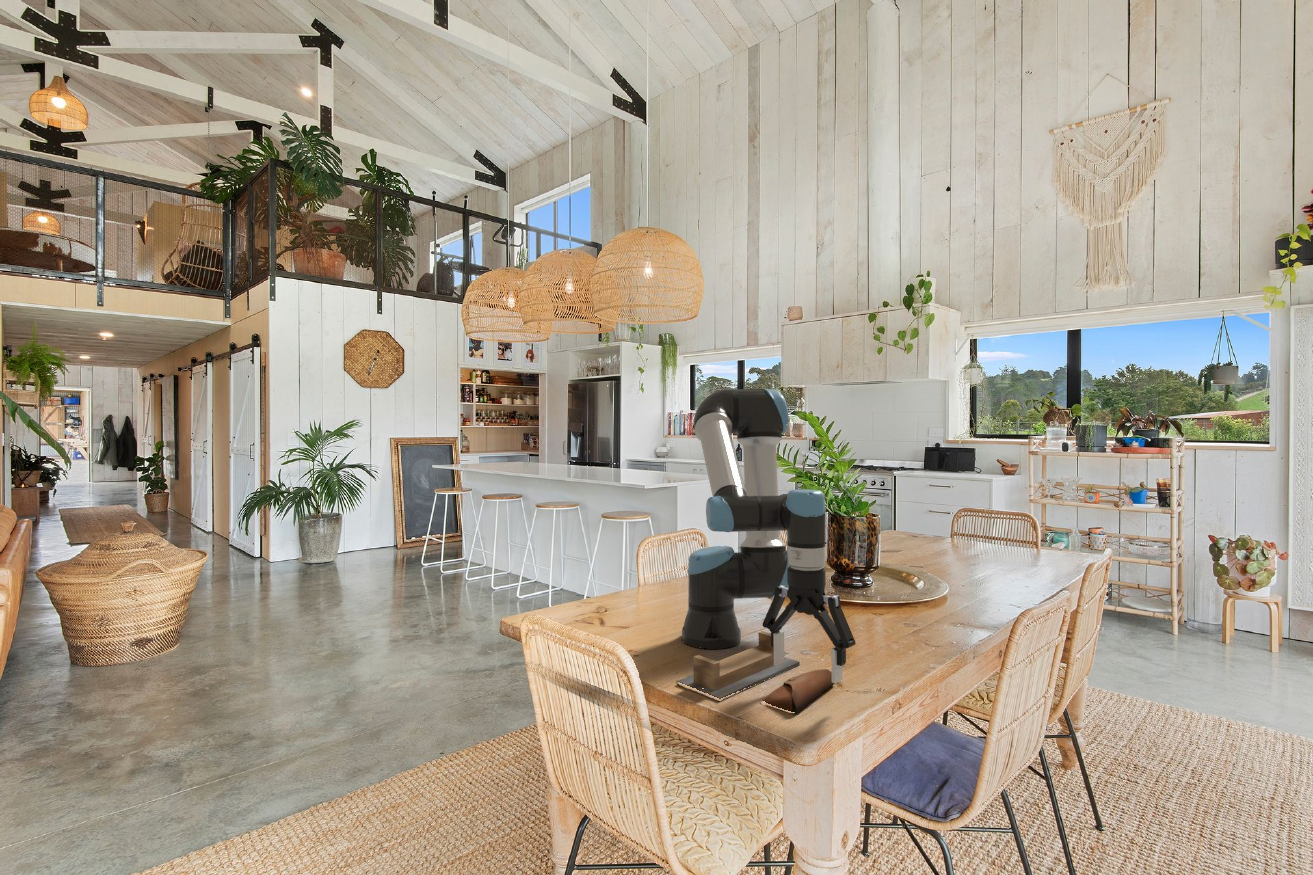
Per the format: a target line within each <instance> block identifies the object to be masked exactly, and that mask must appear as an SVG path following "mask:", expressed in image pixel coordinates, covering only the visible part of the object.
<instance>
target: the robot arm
mask: <svg viewBox="0 0 1313 875" xmlns="http://www.w3.org/2000/svg"><path fill="white" fill-rule="evenodd" d="M789 418H790V417H789V409H788V406H787V402H786V399H785V397H784V395H783V393H782V392H781V391H779V390H778V389H769V388H741V389H740V388H735V389H734V388H732V389H731V388H724V389H718V390H716V391H714V392H712V393H710V394H708V396H706V397H705V398H704V399H703V400H702V401H701V402H700V403H699V406H698V407H697V409H696V411H695V413H694V417H693V430H694V435H695V436H696V438H697V439H698V441H700V445H701V449H702V454H703V458H704V463H705V467H706V472H707V476H708V480H709V486H710V492H711V494H712V495H711V496H710V497H708V499H707V500H706V505H705V516H706V525H707V527H708V529H709V530H710V531H712V532H722V533H723V532H724V533H731V532H736V533H738V532H745V539H744V540H743V542H741V543H740V552H737V551H736V552H735V550H734V548H733V547H732V546H728V545H723V546H721V545H715V546H708V547H703V548H700V549H697V550H695V551H693V552H692V553H691V554H690V555H689V557H688V565H687V566H688V567H687V574H688V575H687V576H688V577H687V578H688V579H687V580H688V582H687V584H688V592H687V593H688V594H687V596H688V597H687V598H688V604H687V605H688V607H687V608H688V609H687V612H686V617H685V620H684V623H683V626H682V628H681V641H682V642H683V641H684V642H683V643H684V644H686V643H687V644H688V645H687V644H686V645H687V646H690V645H692V646H691V647H694V648H697V647H701V648H700V649H704V648H706V650H722V649H728V647H729V648H732V647H735V646H737V645H739V644H740V643H741V641H742V631H741V628H740V627H739V622H738V620H737V616H736V612H735V606H734V605H735V604H734V602H735V600H736V599H738V600H739V599H742V600H743V599H763V598H764V599H772V601H771V603H770V606H769V608H768V610H767V612H766V614H765V617H764V619H763V620H762V627H763V628H765V629H768V630H769V633H771V646H772V647H774V665H776V666H777V665H780V664H782V663H784V657H785V631H783V630H782V629H783V627H784V626H785V625H786V624H787V623H788V621H789V620H790V619H791V618H792V616H793V615H794V614H795V613H796V612H797V613H799V614H805V615H808V616H813V618H814V619H816V620H817V622H818V623H819V624H820V626H821V628H822V629H823V630H824V632H825V634H826V635H827V636H828V638H829V640H830V642H831V643H832V644H833V646H834V647H831V654H830V656H831V672H832V682H833V683H834V684H837V683H838V682H840V681H842V680H843V666H844V665H846V663H847V649H849V648H852V647H853V646H856V644H857V643H856V640H855V637H854V635H853V633H852V631H851V627H850V625H849V622H848V621H847V618H846V616H845V614H844V611H843V609H842V605H841V597H840V595H838V594H835V595H826V591H825V590H826V584H827V583H826V582H827V580H826V578H827V577H826V573H827V572H826V569H825V568H824V567H825V566H826V511H827V510H826V509H827V507H826V501H825V500H826V499H825V494H824V492H823V491H822V490H818V489H809V488H806V489H805V488H804V489H801V488H798V489H790V490H789V491H788V492H787V493H782V494H779V490H778V489H779V486H778V462H777V461H778V460H777V459H778V457H777V455H778V454H777V446H778V444H779V443H780V442H781V441H783V440H782V439H783V434H785V433H787V432H788V429H789V422H790V421H789V420H790V419H789ZM731 434H736V440H737V443H739V444H740V445H741V447H742V448H743V449H742V450H743V475H742V471H741V468H740V465H739V461H738V457H737V454H736V450H735V445H734V441H733V438H732V435H731ZM780 531H785V532H786V540H787V541H786V542H787V543H785V542H784V541H783V540H782V539H781V537H780ZM786 544H787V545H786ZM786 547H787V548H786ZM787 597H788V599H789V603H788V604H787V605H786V606H785V609H784V610H783V611H782V612H781V613H780V611H781V609H782V606H783V604H784V603H785V601H786V598H787ZM825 604H826V606H825ZM827 607H828V609H827ZM779 614H780V615H779ZM830 615H831V616H830Z"/></svg>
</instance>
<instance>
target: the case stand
mask: <svg viewBox="0 0 1313 875" xmlns="http://www.w3.org/2000/svg"><path fill="white" fill-rule="evenodd" d="M692 659H693V660H692V661H693V666H692V670H693V674H692V675H689V676H686V677H684V678H681V679H679V680H676V683H677V682H680V683H682V684H685V685H687V686H690V687H692V688H696V689H697V690H699V691H702V692H704V693H708V694H709V695H712V696H714V697H717V698H719V699H721V698H723V697H726V696H728V695H731V694H732V693H736V692H737V691H741V690H743V689H744V688H748V687H750V686H753V685H755V684H758V683H760V682H762V683H764V682H765V681H764V680H766V681H768V679H769V678H771V679H773V678H775V677H777V676H779V675H781V674H780V673H782V674H783V672H784V673H785V671H786V672H787V671H790V670H792V669H794V668H796V667H798V666H800V663H801V662H800V661H799V660H795V659H792V658H788V657H786V656H784V663H782V664H780V665H777V666H776V665H774V647H772V646H771V632H767V631H763V630H762V631H759V632H758V645H755V646H753V647H750V648H748V649H745V650H743V651H740V652H738V653H736V654H733V655H729V656H727V657H725V658H721V659H720V660H714V659H711V658H708V657H705V656H702V655H700V654H697V655H694V656H693V658H692ZM778 674H779V675H778ZM776 675H777V676H776ZM774 676H775V677H774ZM772 677H773V678H772ZM769 680H770V679H769ZM763 681H764V682H763ZM760 684H761V683H760ZM758 685H759V684H758ZM753 687H754V686H753ZM702 688H704V689H702Z"/></svg>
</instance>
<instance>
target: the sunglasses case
mask: <svg viewBox="0 0 1313 875" xmlns="http://www.w3.org/2000/svg"><path fill="white" fill-rule="evenodd" d="M833 685H835V683H833V682H832V670H831V671H830V670H829V669H827V668H826V669H825V668H824V669H823V668H822V669H815V670H811V671H807V672H804V673H801V674H799V675H797V676H793V677H790V678H788V679H786V680H785V681H783V684H782V685H780V686H779V687H777V688H776V689H774V690H773V691H772V692H770V693H769V694H768V695H766V696H765V697H764V698H763V699H761V701H765V702H766V703H768V704H771V705H772V706H776V707H778V708H782V709H784V710H788V711H791V712H795V715H796V714H798V713H799V712H801V711H802V710H803V709H805V707H806V706H807V705H808V704H810V703H811V701H813V700H815V699H816V698H817V697H819V695H821V694H822V693H824V692H825V691H826V690H828V689H829V688H831V687H832V686H833ZM797 712H798V713H797Z"/></svg>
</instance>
